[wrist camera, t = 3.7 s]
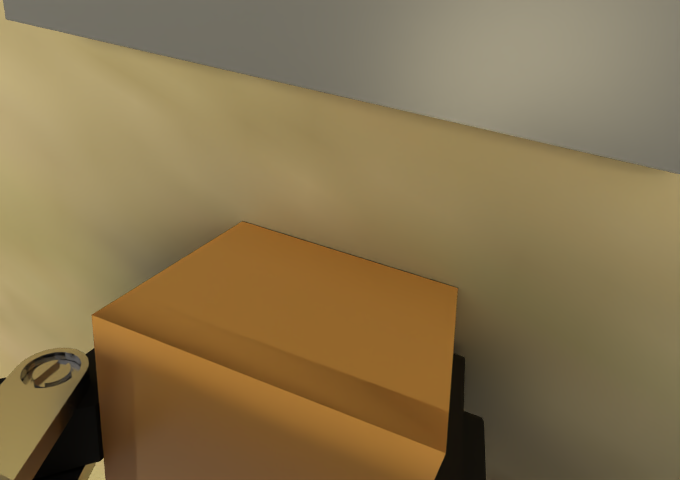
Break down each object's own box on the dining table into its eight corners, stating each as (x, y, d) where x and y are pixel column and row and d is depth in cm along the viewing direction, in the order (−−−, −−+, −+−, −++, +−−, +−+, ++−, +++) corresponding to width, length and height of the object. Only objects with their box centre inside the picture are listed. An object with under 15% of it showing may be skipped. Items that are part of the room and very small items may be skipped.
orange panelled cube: (457, 287, 10) (445, 452, 6) (398, 451, 13) (357, 654, 8) (242, 221, 11) (91, 314, 7) (227, 382, 14) (109, 528, 9)
